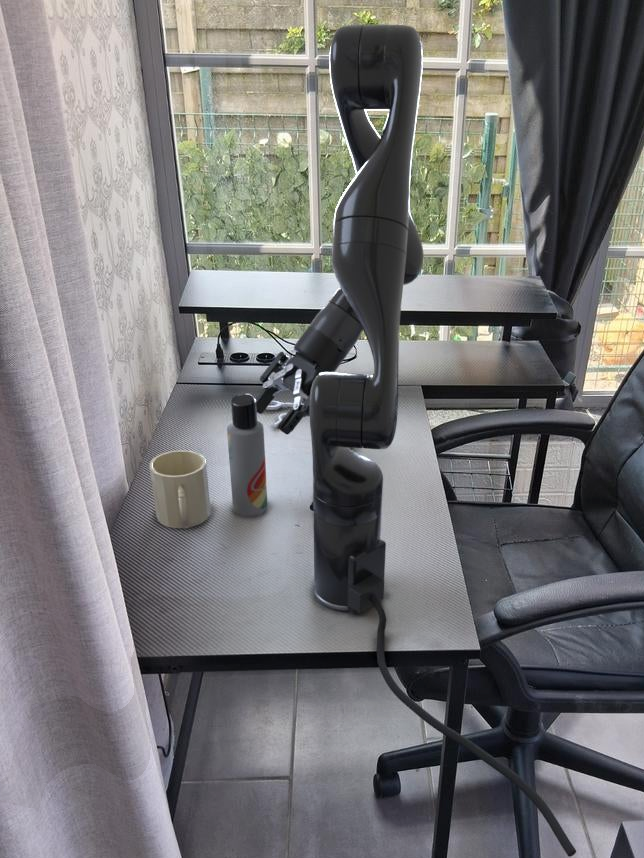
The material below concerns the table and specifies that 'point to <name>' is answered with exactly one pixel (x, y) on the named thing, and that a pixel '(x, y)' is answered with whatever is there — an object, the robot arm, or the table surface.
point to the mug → (180, 488)
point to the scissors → (277, 406)
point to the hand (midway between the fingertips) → (268, 421)
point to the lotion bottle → (247, 457)
